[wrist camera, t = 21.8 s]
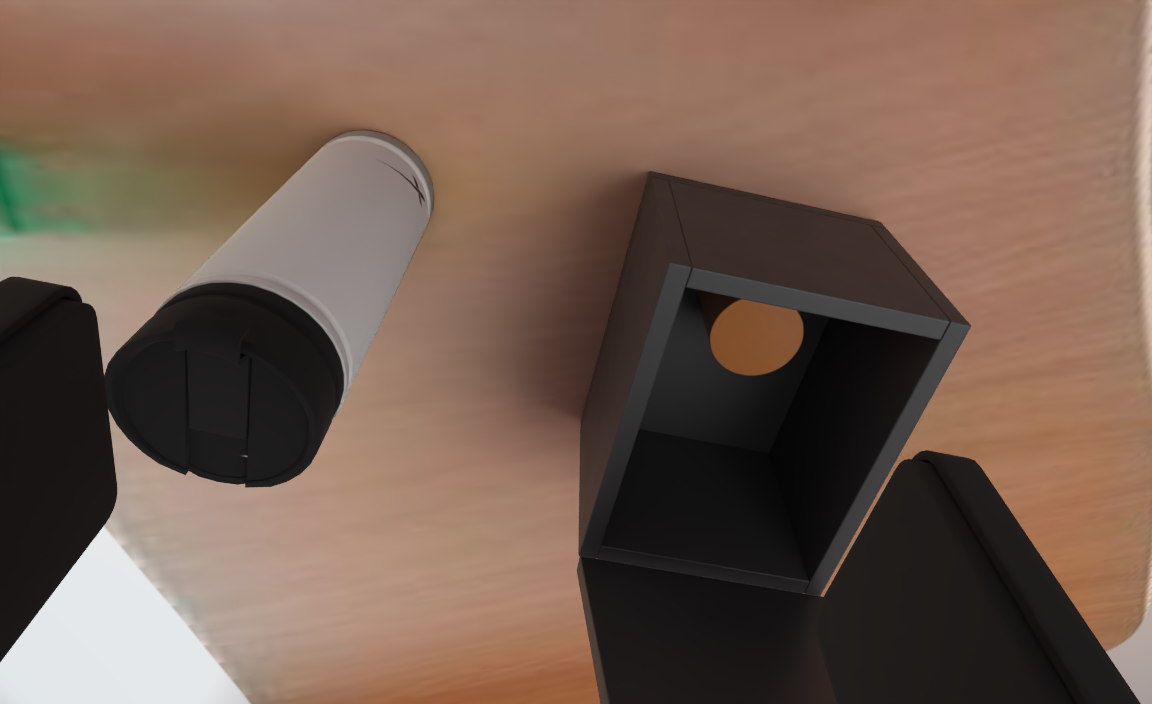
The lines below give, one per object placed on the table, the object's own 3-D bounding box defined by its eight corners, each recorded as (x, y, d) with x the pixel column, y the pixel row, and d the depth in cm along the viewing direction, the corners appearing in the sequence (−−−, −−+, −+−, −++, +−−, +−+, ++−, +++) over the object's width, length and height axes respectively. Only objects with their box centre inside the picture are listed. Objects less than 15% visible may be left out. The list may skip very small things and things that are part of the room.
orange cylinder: (711, 243, 39) (726, 286, 35) (793, 260, 40) (818, 305, 35) (686, 317, 41) (697, 366, 37) (764, 332, 42) (784, 383, 38)
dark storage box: (649, 170, 38) (669, 262, 29) (881, 221, 39) (972, 325, 30) (580, 421, 46) (578, 556, 37) (774, 457, 47) (820, 597, 38)
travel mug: (446, 141, 38) (326, 355, 20) (424, 260, 41) (305, 530, 24) (317, 106, 37) (81, 299, 20) (305, 231, 40) (94, 488, 23)
